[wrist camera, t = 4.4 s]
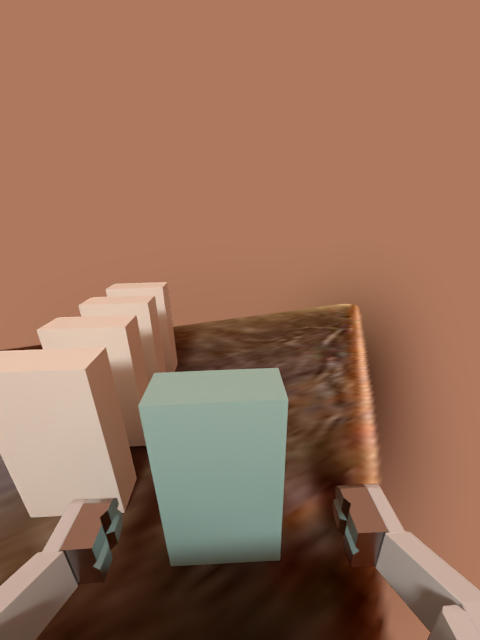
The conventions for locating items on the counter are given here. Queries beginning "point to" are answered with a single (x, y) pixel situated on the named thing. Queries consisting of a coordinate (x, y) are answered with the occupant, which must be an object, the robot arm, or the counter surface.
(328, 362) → the counter surface
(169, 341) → the domino
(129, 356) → the domino
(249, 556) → the domino
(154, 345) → the domino
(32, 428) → the domino
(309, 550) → the counter surface
